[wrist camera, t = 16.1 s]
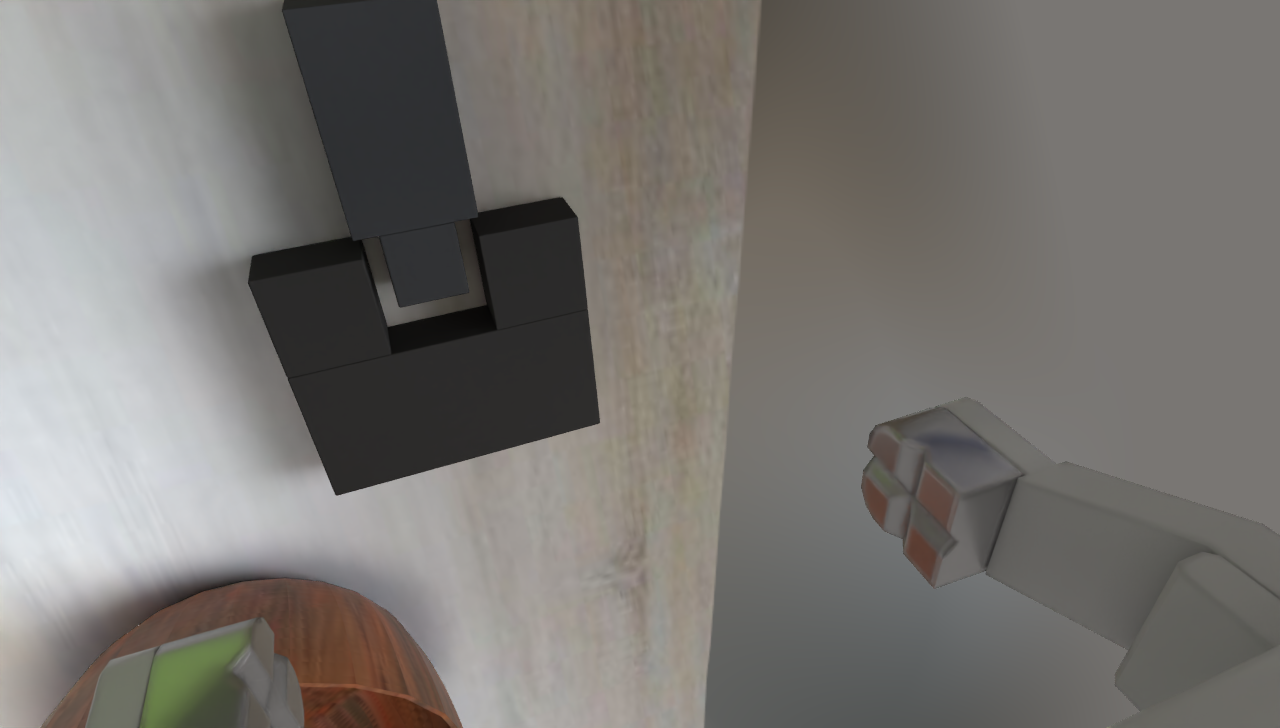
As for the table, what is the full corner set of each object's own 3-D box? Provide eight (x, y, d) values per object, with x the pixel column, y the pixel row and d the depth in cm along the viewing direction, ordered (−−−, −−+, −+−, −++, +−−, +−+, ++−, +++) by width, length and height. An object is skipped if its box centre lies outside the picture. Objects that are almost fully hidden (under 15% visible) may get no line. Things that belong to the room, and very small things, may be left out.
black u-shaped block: (562, 196, 40) (577, 216, 38) (586, 397, 48) (600, 423, 46) (251, 255, 36) (247, 282, 34) (334, 463, 44) (335, 496, 42)
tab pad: (426, -16, 32) (435, -8, 30) (482, 264, 41) (492, 288, 38) (284, -1, 31) (281, 9, 29) (371, 287, 39) (375, 313, 37)
